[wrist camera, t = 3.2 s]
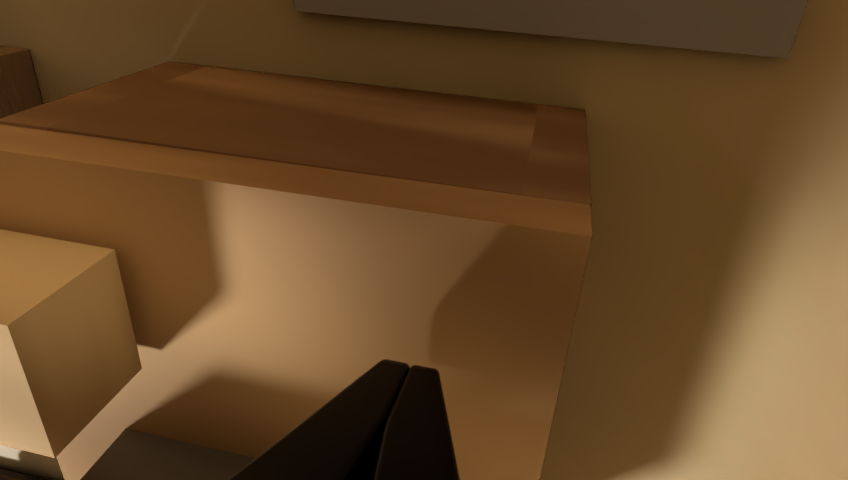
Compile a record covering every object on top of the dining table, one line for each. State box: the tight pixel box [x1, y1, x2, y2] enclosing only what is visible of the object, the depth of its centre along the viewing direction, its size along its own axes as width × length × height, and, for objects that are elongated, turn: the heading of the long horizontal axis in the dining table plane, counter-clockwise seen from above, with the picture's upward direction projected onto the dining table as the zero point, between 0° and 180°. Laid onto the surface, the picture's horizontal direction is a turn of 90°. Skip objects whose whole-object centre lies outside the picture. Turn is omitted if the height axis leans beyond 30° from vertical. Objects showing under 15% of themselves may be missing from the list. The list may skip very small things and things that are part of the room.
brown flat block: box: [0, 62, 592, 209], centre depth 15 cm, size 14×10×5 cm
